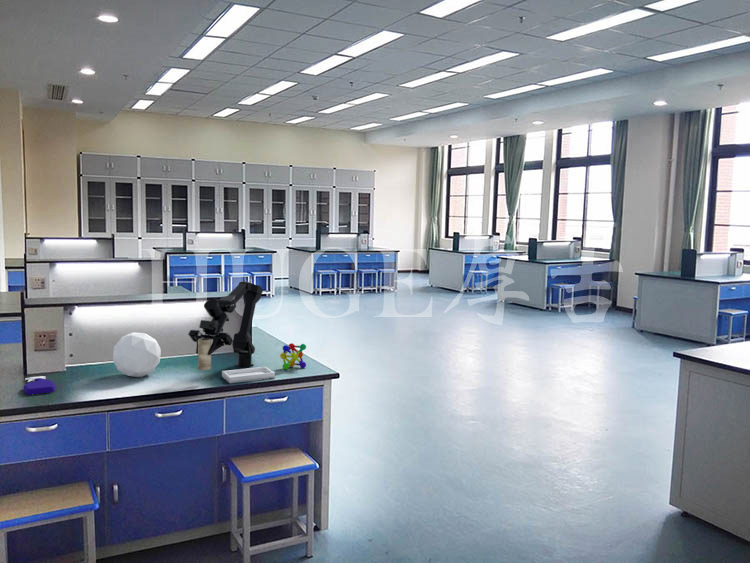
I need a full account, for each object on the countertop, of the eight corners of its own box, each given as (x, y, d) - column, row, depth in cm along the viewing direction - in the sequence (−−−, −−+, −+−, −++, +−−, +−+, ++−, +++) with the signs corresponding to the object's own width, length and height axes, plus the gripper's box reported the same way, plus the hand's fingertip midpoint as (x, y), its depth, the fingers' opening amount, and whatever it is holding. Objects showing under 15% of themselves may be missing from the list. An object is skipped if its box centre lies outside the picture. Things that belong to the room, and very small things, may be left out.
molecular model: (283, 370, 283) (284, 345, 282) (278, 367, 289) (279, 342, 288) (307, 368, 288) (307, 344, 287) (301, 365, 295) (302, 341, 294)
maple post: (195, 368, 259) (195, 339, 257) (206, 366, 262) (206, 337, 261) (202, 371, 255) (202, 341, 254) (213, 368, 259) (213, 339, 257)
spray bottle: (56, 386, 241) (50, 373, 261) (24, 389, 235) (21, 376, 256) (56, 393, 241) (51, 379, 262) (24, 397, 235) (21, 383, 256)
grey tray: (229, 383, 260) (229, 377, 260) (222, 376, 270) (222, 371, 270) (274, 378, 270) (274, 372, 269) (265, 371, 280) (265, 366, 280)
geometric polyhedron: (148, 392, 268) (161, 361, 258) (101, 378, 262) (112, 346, 252) (158, 362, 283) (171, 332, 273) (114, 348, 277) (125, 317, 267)
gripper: (190, 311, 263) (175, 341, 253) (228, 314, 257) (214, 345, 248) (201, 326, 271) (186, 356, 262) (238, 329, 265) (225, 360, 256)
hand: (202, 354), depth 257 cm, fingers closed on maple post, 5 cm apart
